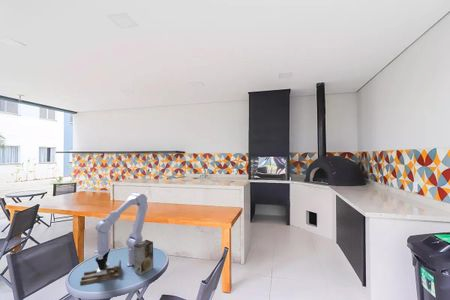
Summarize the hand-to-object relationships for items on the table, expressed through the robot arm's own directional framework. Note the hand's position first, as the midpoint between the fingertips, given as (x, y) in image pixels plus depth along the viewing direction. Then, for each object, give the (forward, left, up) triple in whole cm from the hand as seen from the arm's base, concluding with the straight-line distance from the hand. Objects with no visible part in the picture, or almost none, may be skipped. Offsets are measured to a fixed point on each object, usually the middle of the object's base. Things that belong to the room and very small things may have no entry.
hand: (103, 266), depth 122 cm
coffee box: (-22, +2, -6) cm, 23 cm away
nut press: (0, 0, -5) cm, 5 cm away
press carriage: (0, 0, -3) cm, 3 cm away
